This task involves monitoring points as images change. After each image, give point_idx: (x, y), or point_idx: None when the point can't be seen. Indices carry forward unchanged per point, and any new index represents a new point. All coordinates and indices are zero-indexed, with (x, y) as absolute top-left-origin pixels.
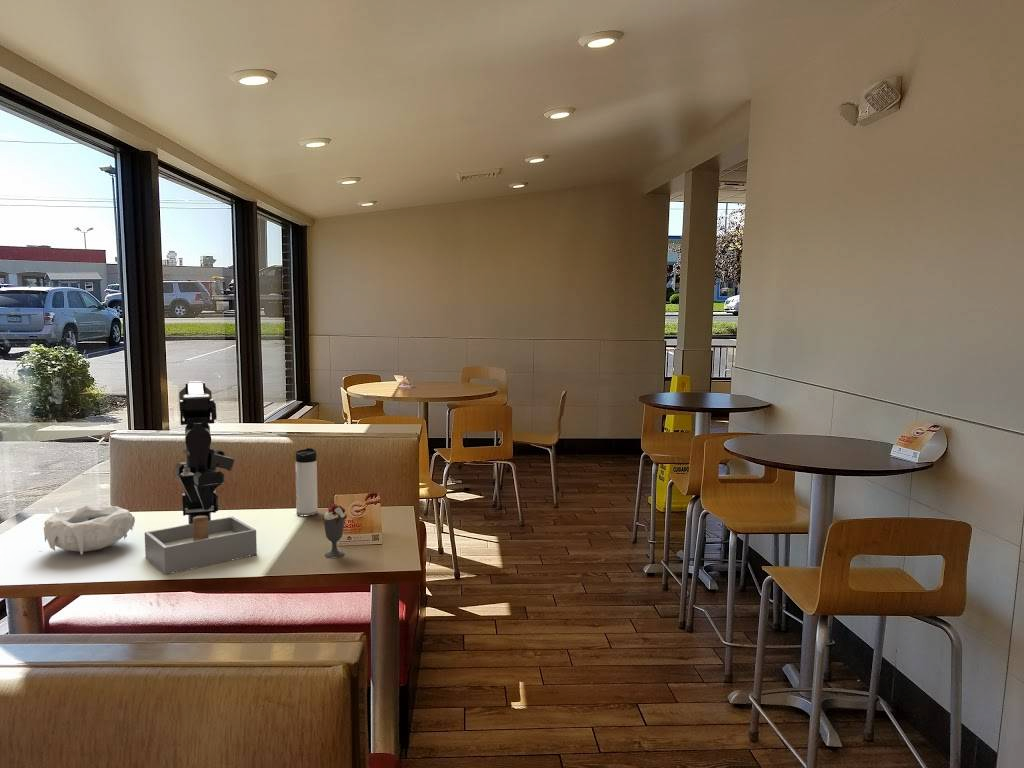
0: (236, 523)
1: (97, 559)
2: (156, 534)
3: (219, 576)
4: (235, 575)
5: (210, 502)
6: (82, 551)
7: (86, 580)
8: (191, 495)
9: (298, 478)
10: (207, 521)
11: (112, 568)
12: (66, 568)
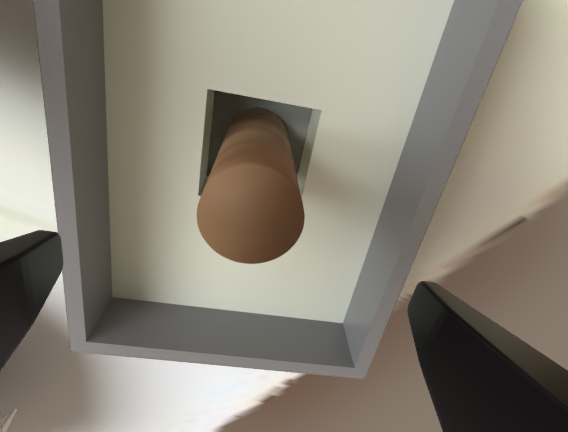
0: None
1: (38, 363)
2: (93, 304)
3: (514, 209)
4: (563, 170)
5: (498, 328)
6: (11, 417)
7: (215, 419)
8: (11, 327)
9: None
10: (290, 175)
11: (163, 364)
12: (76, 422)
